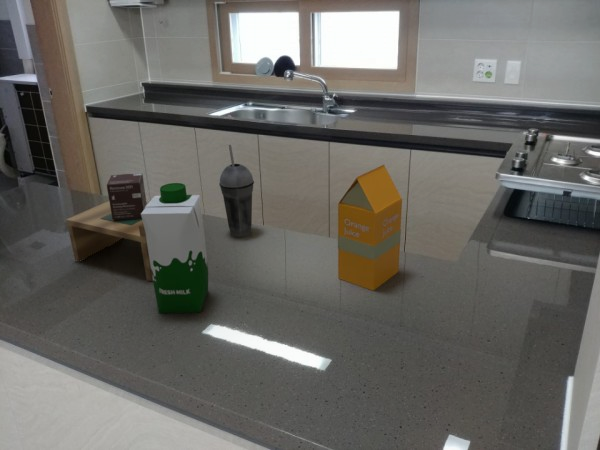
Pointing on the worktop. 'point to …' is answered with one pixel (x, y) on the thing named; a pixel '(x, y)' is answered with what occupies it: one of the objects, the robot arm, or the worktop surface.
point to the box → (126, 196)
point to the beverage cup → (237, 197)
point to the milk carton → (176, 249)
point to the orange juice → (369, 230)
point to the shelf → (105, 233)
